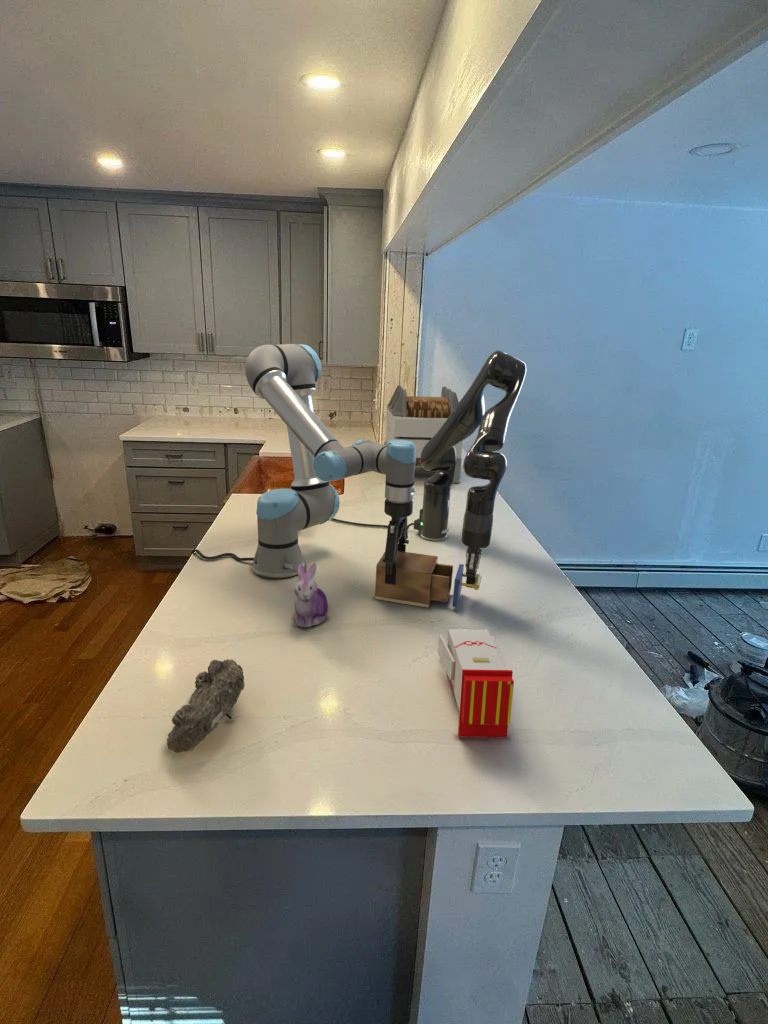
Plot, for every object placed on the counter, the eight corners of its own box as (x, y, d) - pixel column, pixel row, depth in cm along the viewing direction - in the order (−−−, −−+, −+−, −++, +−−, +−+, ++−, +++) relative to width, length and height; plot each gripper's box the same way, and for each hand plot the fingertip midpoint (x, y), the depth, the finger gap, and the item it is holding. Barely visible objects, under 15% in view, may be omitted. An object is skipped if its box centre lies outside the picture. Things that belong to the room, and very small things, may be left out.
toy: (488, 613, 130) (523, 677, 101) (484, 667, 133) (517, 744, 104) (435, 612, 130) (455, 676, 101) (432, 666, 133) (451, 743, 103)
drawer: (479, 593, 158) (482, 567, 155) (476, 610, 149) (479, 583, 146) (414, 583, 162) (416, 557, 159) (406, 599, 153) (408, 572, 150)
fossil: (192, 660, 117) (244, 628, 112) (224, 691, 120) (276, 661, 115) (142, 746, 98) (202, 712, 93) (182, 779, 101) (242, 748, 96)
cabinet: (435, 588, 162) (438, 556, 158) (428, 607, 151) (431, 573, 148) (384, 581, 165) (386, 549, 162) (374, 598, 155) (376, 565, 151)
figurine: (299, 632, 137) (299, 576, 132) (286, 613, 145) (285, 559, 140) (336, 624, 141) (336, 570, 136) (320, 605, 149) (321, 553, 144)
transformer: (382, 463, 289) (386, 382, 275) (445, 464, 293) (451, 384, 279) (390, 482, 257) (394, 392, 243) (460, 483, 261) (468, 394, 247)
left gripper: (403, 515, 138) (398, 595, 145) (421, 488, 160) (416, 559, 167) (373, 512, 140) (370, 591, 147) (395, 485, 161) (391, 555, 169)
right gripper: (490, 538, 140) (481, 600, 146) (493, 520, 152) (485, 578, 158) (459, 533, 141) (452, 595, 147) (465, 516, 153) (459, 573, 159)
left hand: (395, 574), depth 157 cm, fingers closed on cabinet, 11 cm apart
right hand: (469, 586), depth 153 cm, fingers closed
